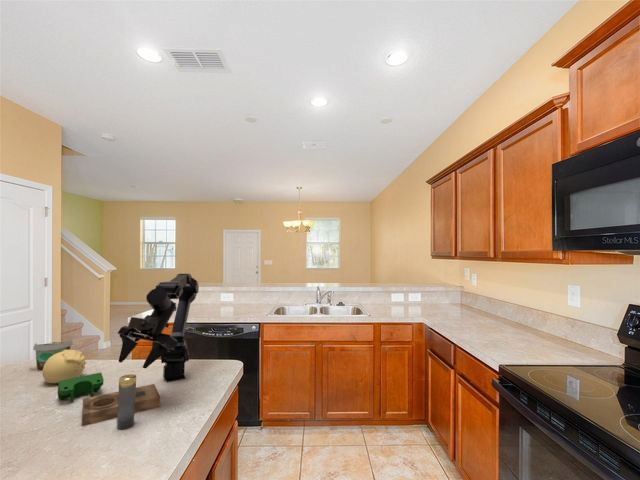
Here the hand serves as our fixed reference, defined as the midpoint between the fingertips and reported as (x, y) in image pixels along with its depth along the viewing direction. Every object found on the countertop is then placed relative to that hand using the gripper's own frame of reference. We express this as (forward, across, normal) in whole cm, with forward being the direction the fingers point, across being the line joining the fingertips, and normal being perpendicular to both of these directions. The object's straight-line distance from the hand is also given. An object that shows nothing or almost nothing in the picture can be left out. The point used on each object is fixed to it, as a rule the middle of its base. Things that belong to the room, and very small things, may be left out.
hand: (131, 365), depth 93 cm
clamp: (+11, -21, +11) cm, 26 cm away
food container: (+5, -56, +23) cm, 61 cm away
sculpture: (+8, -40, +17) cm, 44 cm away
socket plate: (+10, -3, +9) cm, 14 cm away
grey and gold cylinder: (+14, +6, +3) cm, 16 cm away
